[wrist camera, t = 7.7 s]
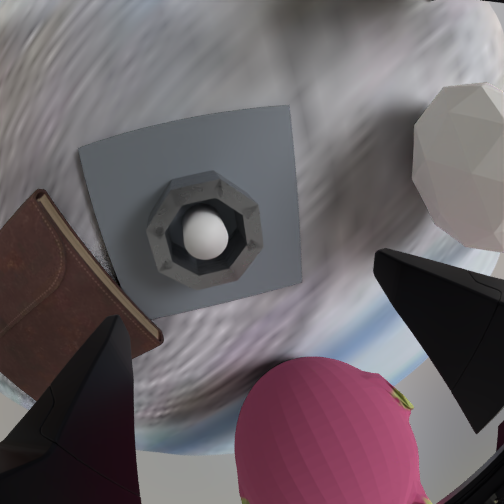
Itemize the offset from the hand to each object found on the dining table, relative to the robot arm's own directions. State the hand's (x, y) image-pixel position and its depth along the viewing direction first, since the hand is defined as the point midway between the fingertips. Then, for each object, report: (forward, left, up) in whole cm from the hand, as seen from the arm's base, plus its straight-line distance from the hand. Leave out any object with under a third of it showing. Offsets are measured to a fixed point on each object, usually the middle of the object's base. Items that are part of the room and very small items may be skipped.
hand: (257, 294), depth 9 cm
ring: (+1, +1, -11) cm, 11 cm away
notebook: (+18, +6, -12) cm, 22 cm away
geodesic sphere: (-21, -2, -12) cm, 24 cm away
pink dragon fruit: (-4, +20, -12) cm, 24 cm away
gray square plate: (+1, +1, -12) cm, 12 cm away
